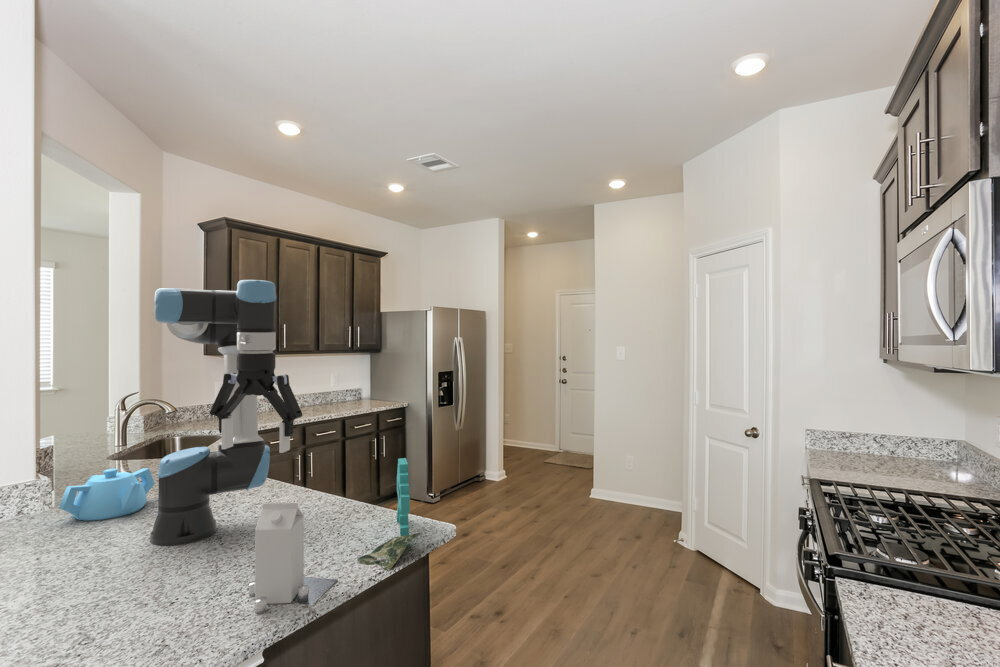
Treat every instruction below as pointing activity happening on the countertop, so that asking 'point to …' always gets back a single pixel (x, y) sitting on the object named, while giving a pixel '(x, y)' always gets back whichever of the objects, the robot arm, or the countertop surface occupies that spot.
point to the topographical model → (388, 552)
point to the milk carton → (279, 552)
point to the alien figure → (403, 497)
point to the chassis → (305, 594)
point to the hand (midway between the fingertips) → (255, 449)
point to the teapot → (108, 495)
